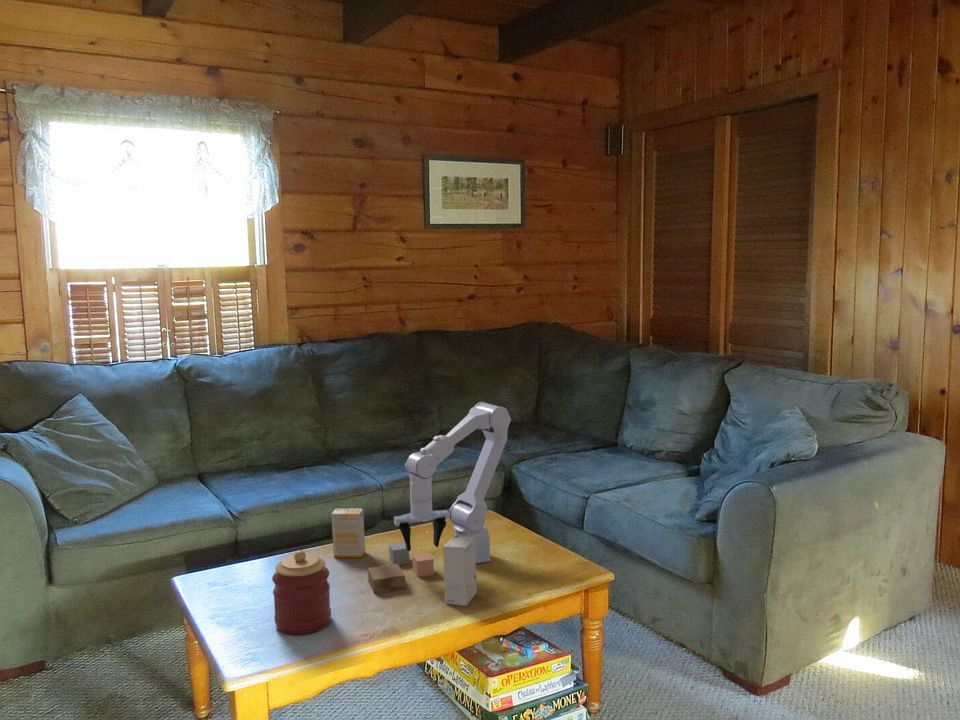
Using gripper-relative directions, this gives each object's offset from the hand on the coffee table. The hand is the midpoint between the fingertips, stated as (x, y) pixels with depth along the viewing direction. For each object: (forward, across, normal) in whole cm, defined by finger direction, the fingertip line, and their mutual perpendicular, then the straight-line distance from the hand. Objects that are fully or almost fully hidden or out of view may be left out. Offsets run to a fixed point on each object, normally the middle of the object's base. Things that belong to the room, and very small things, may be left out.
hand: (422, 547), depth 215 cm
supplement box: (+7, -16, +20) cm, 27 cm away
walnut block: (+7, -11, -4) cm, 14 cm away
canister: (+8, -34, -17) cm, 39 cm away
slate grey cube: (+7, -4, +10) cm, 13 cm away
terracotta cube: (+7, 0, 0) cm, 7 cm away
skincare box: (+7, +4, -18) cm, 20 cm away
